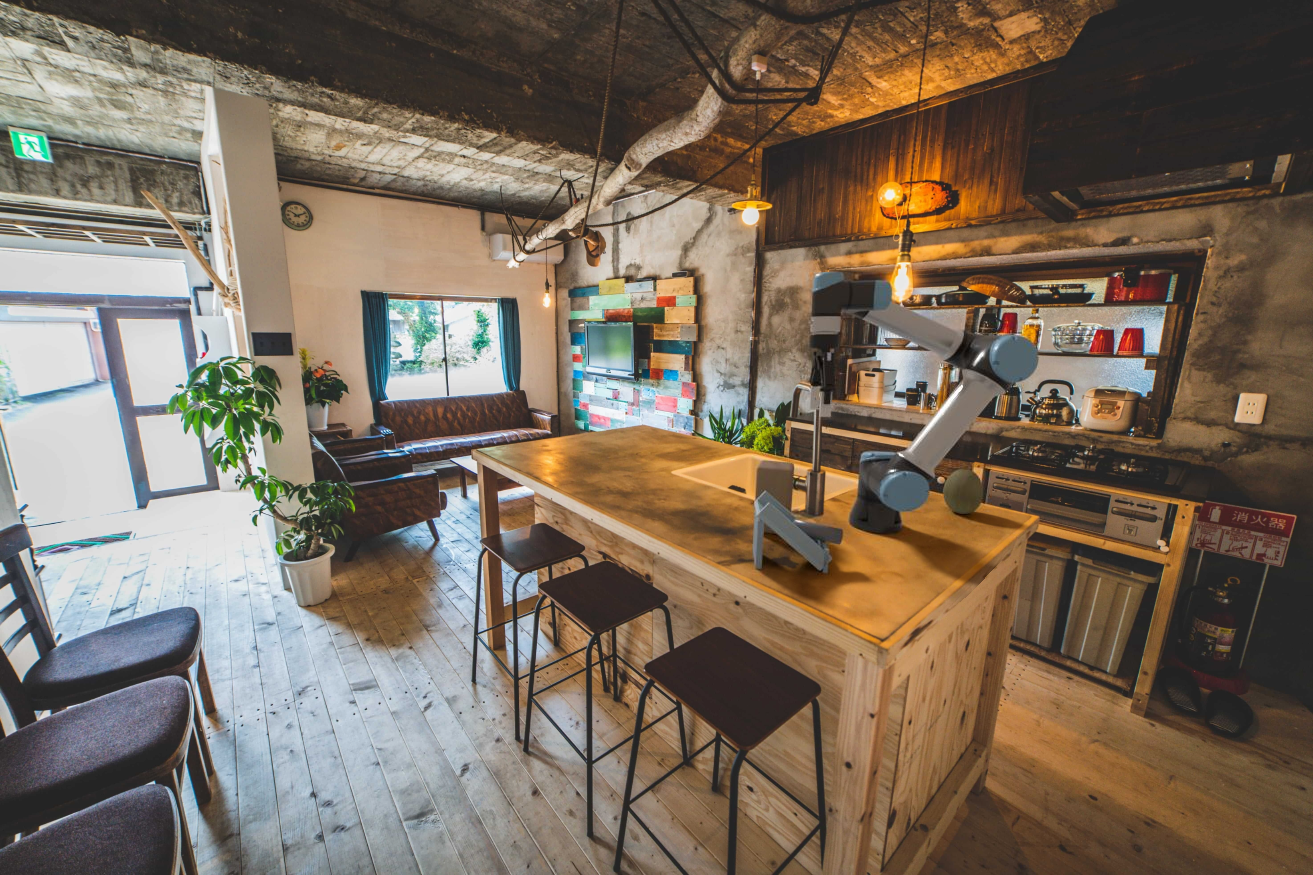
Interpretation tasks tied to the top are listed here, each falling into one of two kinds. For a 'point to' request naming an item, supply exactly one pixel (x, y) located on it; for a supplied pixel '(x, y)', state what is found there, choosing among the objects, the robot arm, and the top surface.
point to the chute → (785, 533)
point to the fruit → (963, 491)
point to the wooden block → (775, 483)
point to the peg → (820, 531)
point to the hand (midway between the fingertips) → (819, 412)
